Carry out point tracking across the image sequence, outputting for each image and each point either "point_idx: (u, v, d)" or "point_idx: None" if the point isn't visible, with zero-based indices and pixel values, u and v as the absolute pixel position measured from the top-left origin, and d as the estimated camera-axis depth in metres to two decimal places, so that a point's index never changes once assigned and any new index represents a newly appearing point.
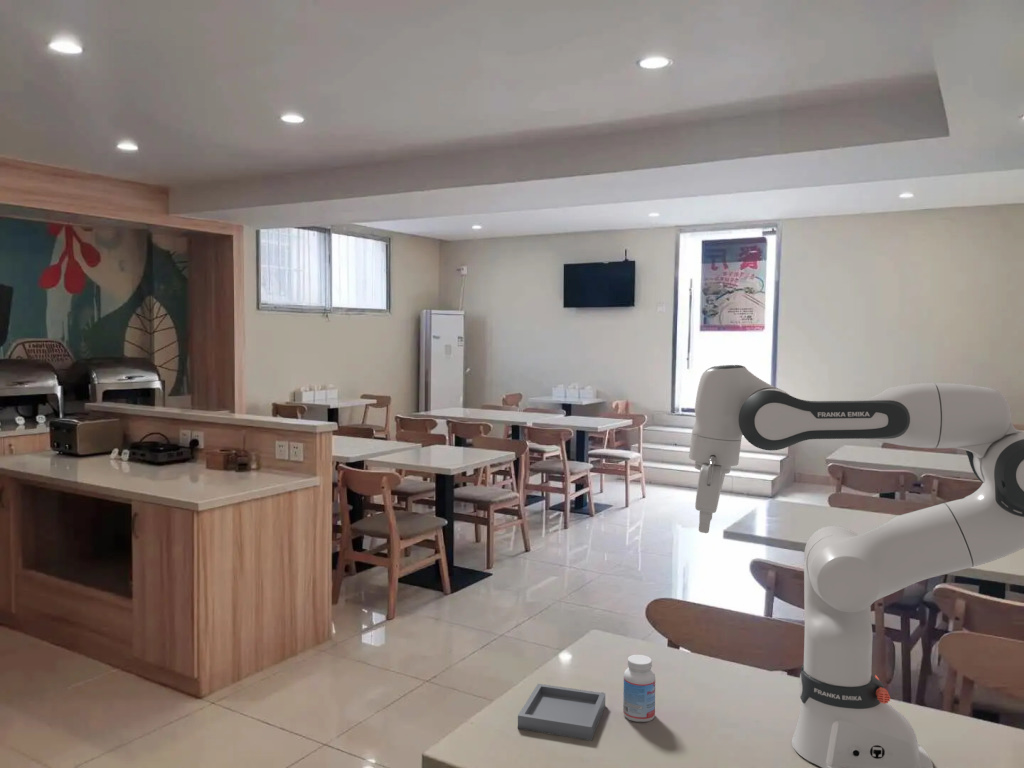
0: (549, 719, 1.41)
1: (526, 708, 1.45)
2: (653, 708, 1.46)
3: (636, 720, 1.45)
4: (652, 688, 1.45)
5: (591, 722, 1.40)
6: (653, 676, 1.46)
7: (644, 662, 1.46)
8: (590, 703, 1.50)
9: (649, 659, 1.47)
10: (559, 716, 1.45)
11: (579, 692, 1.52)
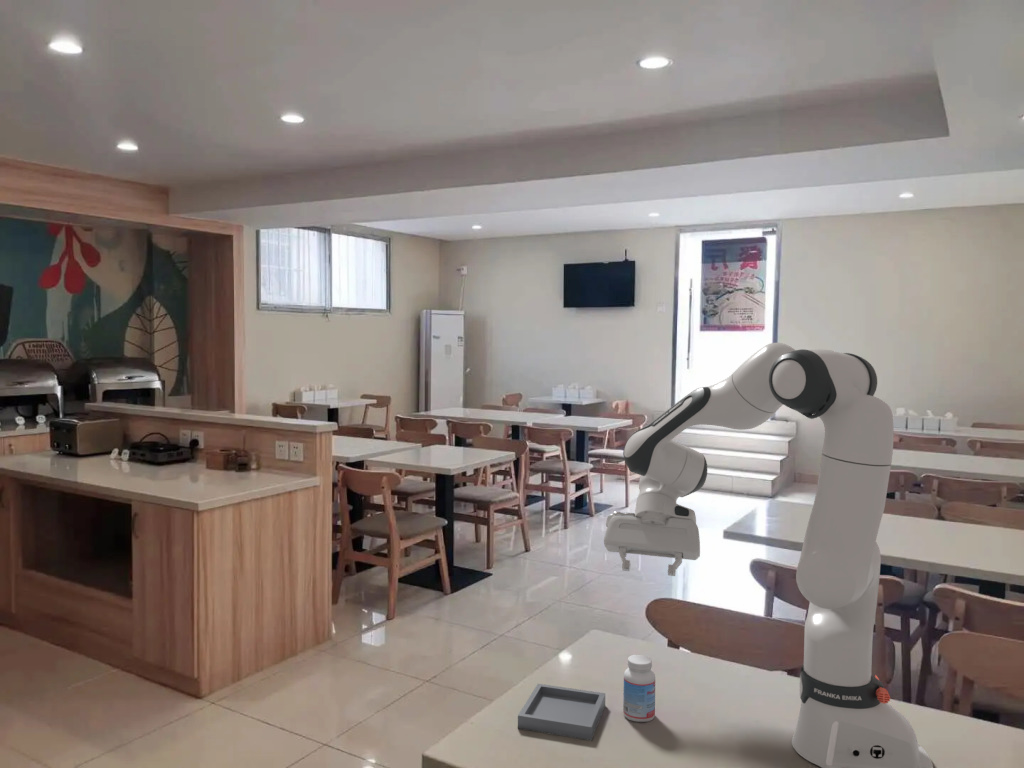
0: (549, 719, 1.41)
1: (526, 708, 1.45)
2: (653, 708, 1.46)
3: (636, 720, 1.45)
4: (652, 688, 1.45)
5: (591, 722, 1.40)
6: (653, 676, 1.46)
7: (644, 662, 1.46)
8: (590, 703, 1.50)
9: (649, 659, 1.47)
10: (559, 716, 1.45)
11: (579, 692, 1.52)
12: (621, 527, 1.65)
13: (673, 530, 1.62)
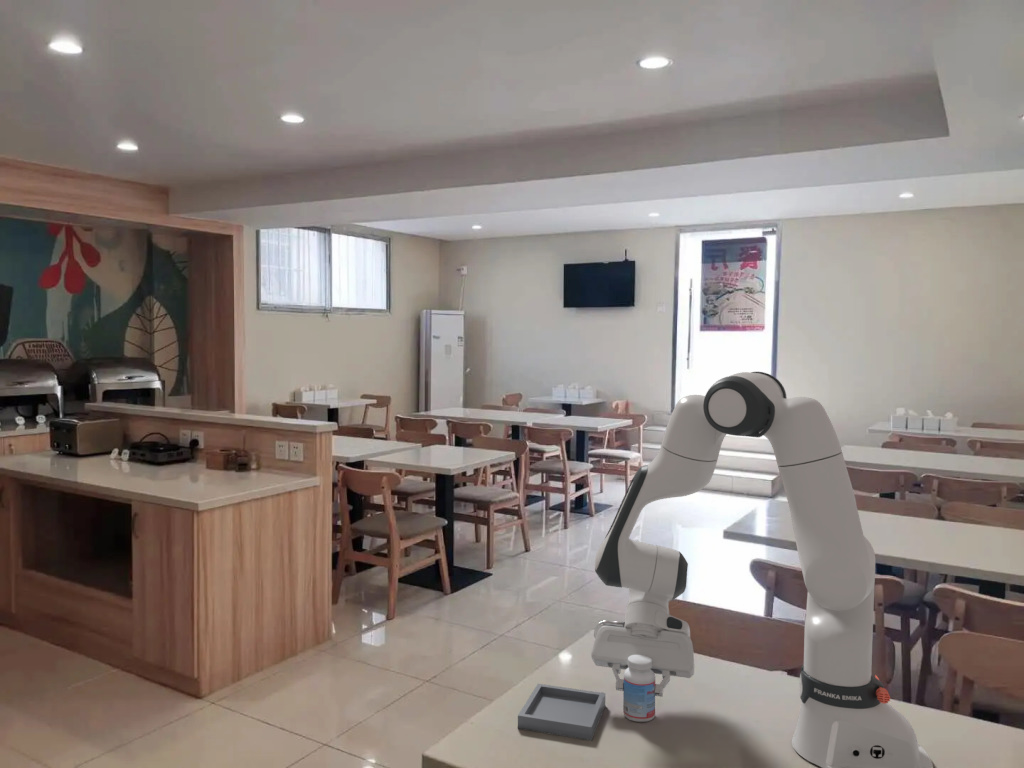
0: (549, 719, 1.41)
1: (526, 708, 1.45)
2: (653, 708, 1.46)
3: (636, 720, 1.45)
4: (652, 688, 1.45)
5: (591, 722, 1.40)
6: (653, 676, 1.46)
7: (644, 662, 1.46)
8: (590, 703, 1.50)
9: (649, 659, 1.47)
10: (559, 716, 1.45)
11: (579, 692, 1.52)
12: (610, 640, 1.53)
13: (665, 644, 1.50)
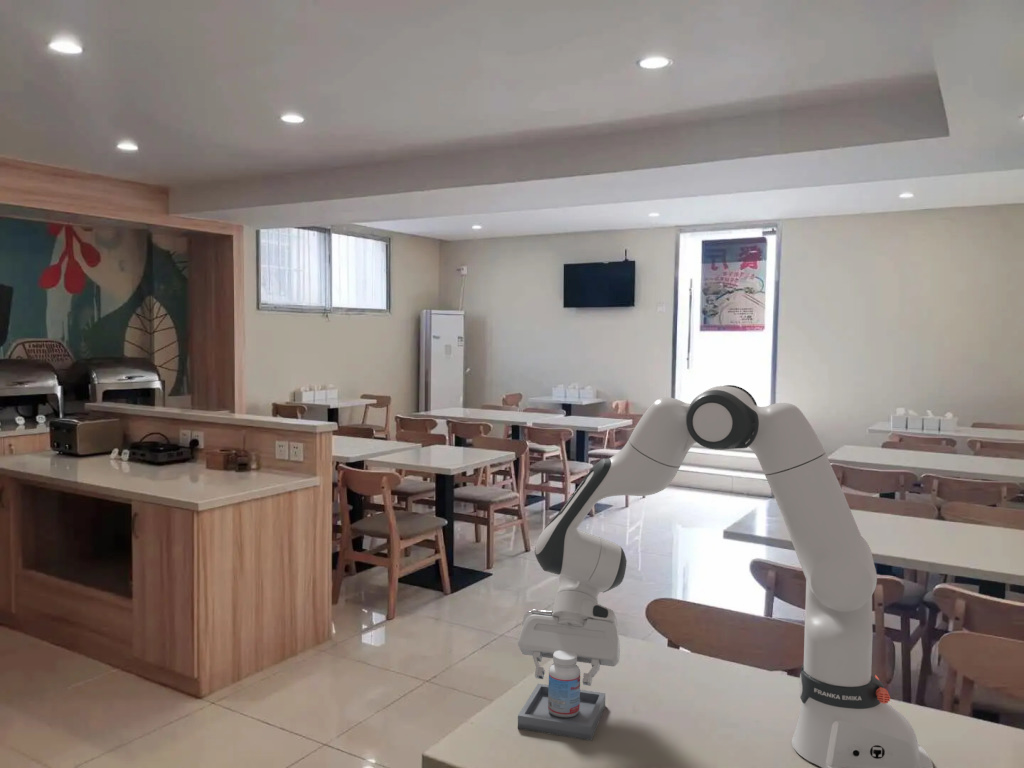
0: (549, 719, 1.41)
1: (526, 708, 1.45)
2: (577, 704, 1.45)
3: (559, 715, 1.44)
4: (576, 683, 1.45)
5: (591, 722, 1.40)
6: (577, 672, 1.45)
7: (569, 657, 1.45)
8: (590, 703, 1.50)
9: (574, 655, 1.46)
10: None
11: None
12: (537, 628, 1.53)
13: (591, 633, 1.50)
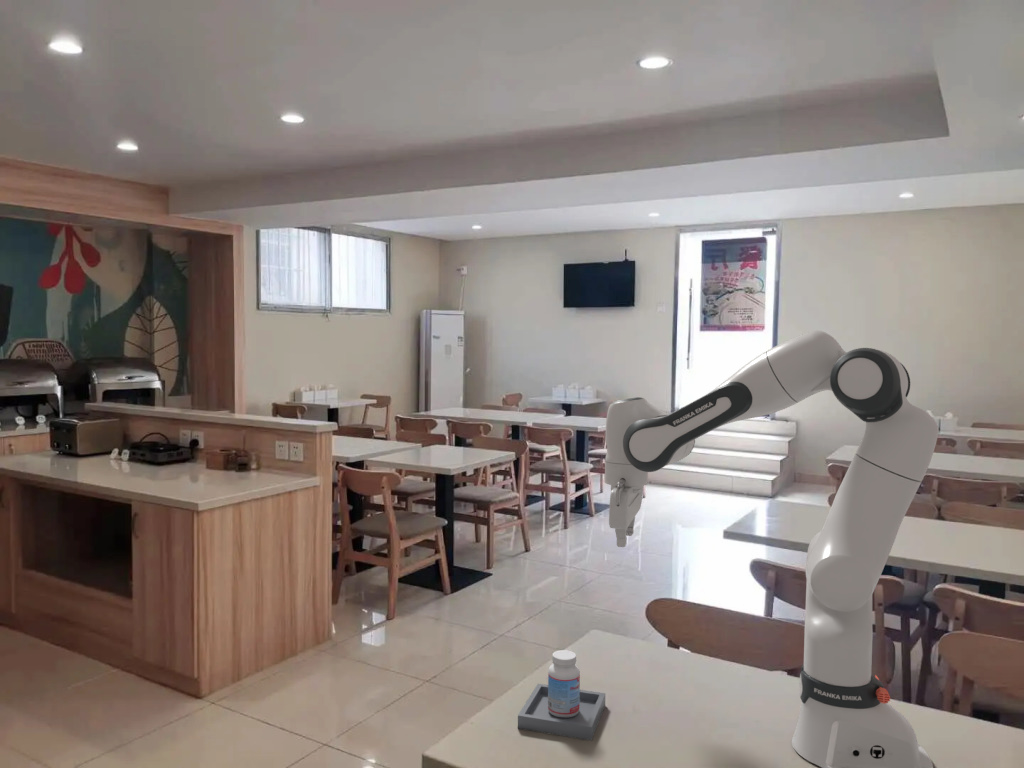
0: (549, 719, 1.41)
1: (526, 708, 1.45)
2: (577, 704, 1.45)
3: (559, 716, 1.44)
4: (575, 683, 1.45)
5: (591, 722, 1.40)
6: (577, 672, 1.45)
7: (568, 657, 1.45)
8: (590, 703, 1.50)
9: (574, 654, 1.46)
10: None
11: None
12: None
13: None
